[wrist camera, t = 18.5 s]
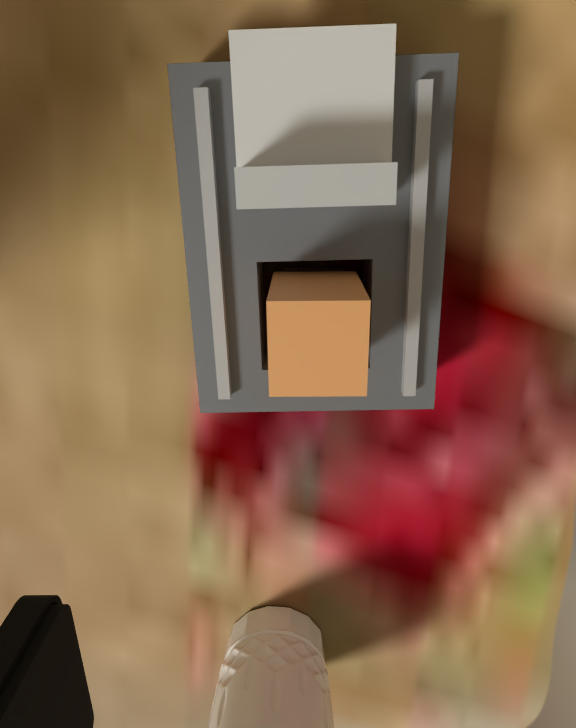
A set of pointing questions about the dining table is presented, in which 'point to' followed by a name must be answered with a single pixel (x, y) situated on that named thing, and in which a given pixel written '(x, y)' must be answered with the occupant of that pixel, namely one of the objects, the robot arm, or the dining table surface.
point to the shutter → (314, 116)
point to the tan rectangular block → (317, 333)
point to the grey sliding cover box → (315, 244)
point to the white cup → (273, 674)
